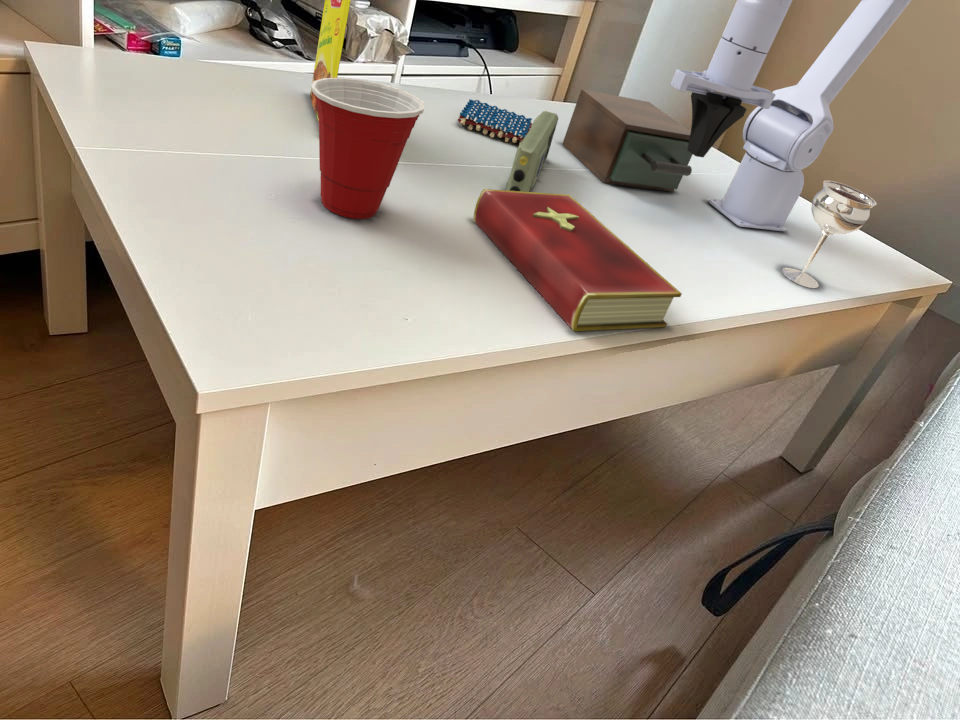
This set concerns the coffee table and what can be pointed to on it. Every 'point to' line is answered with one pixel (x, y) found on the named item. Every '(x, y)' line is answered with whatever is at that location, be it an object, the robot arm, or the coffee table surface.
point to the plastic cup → (360, 141)
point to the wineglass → (833, 220)
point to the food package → (330, 42)
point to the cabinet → (614, 130)
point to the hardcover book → (574, 261)
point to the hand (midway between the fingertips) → (695, 153)
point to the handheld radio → (532, 153)
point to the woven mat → (495, 121)
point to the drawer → (652, 161)
